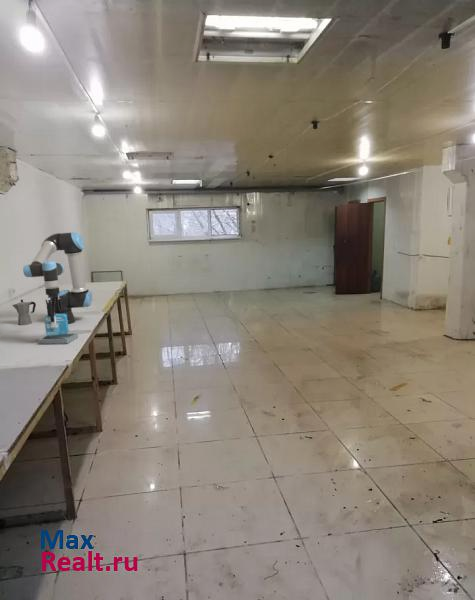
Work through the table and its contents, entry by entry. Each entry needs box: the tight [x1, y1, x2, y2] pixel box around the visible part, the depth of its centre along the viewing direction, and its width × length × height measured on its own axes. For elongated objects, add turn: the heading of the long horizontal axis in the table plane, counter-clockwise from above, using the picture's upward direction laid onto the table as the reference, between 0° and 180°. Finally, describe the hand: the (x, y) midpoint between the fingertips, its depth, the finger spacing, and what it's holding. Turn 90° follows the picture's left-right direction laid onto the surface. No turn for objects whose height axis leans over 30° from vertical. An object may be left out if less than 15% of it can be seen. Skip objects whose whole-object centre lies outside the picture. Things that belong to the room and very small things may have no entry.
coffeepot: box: [11, 299, 37, 326], centre depth 308 cm, size 15×9×18 cm, turn 121°
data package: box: [43, 313, 70, 336], centre depth 254 cm, size 12×4×12 cm, turn 100°
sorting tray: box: [37, 332, 79, 346], centre depth 256 cm, size 14×18×3 cm
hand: (56, 325), depth 254 cm, fingers closed on data package, 5 cm apart
